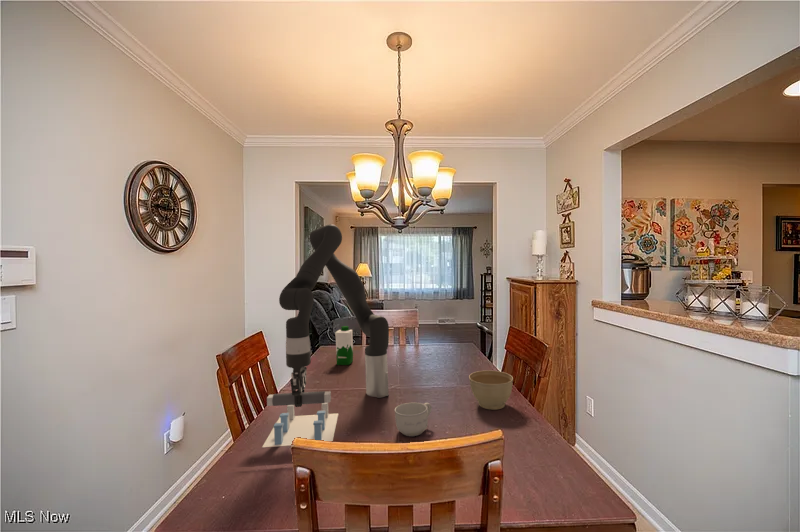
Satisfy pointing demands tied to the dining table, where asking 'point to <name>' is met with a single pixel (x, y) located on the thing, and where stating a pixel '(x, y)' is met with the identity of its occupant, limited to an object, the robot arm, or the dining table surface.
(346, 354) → the milk carton
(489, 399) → the planter bowl
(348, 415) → the dining table surface
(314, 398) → the dark grey dowel
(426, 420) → the teacup
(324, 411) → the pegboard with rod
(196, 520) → the dining table surface
